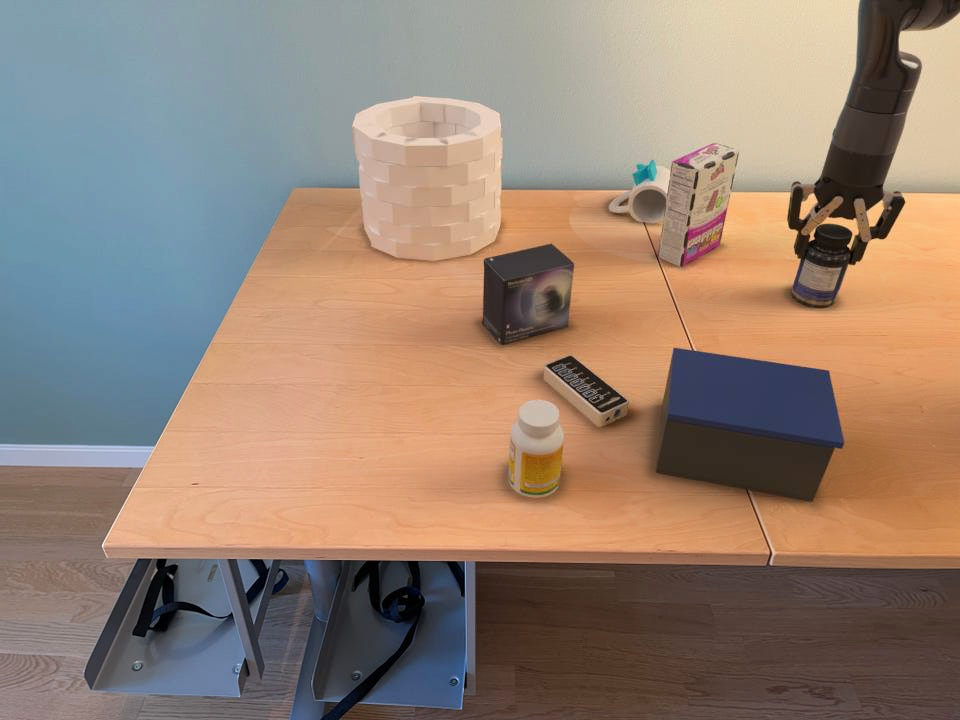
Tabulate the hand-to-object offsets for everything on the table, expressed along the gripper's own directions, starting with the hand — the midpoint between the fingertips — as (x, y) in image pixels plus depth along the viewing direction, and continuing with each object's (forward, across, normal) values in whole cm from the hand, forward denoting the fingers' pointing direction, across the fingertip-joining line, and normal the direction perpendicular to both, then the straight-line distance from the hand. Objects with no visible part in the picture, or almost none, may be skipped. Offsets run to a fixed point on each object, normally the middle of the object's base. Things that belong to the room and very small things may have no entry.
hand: (825, 259), depth 98 cm
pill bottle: (+7, 0, 0) cm, 7 cm away
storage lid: (-1, -12, -36) cm, 38 cm away
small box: (+7, -39, -18) cm, 43 cm away
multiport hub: (+7, -29, -31) cm, 43 cm away
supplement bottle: (+7, -32, -46) cm, 56 cm away
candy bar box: (+7, -18, +10) cm, 22 cm away
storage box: (+7, -12, -36) cm, 39 cm away
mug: (+7, -27, +25) cm, 38 cm away
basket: (+7, -61, +8) cm, 62 cm away
